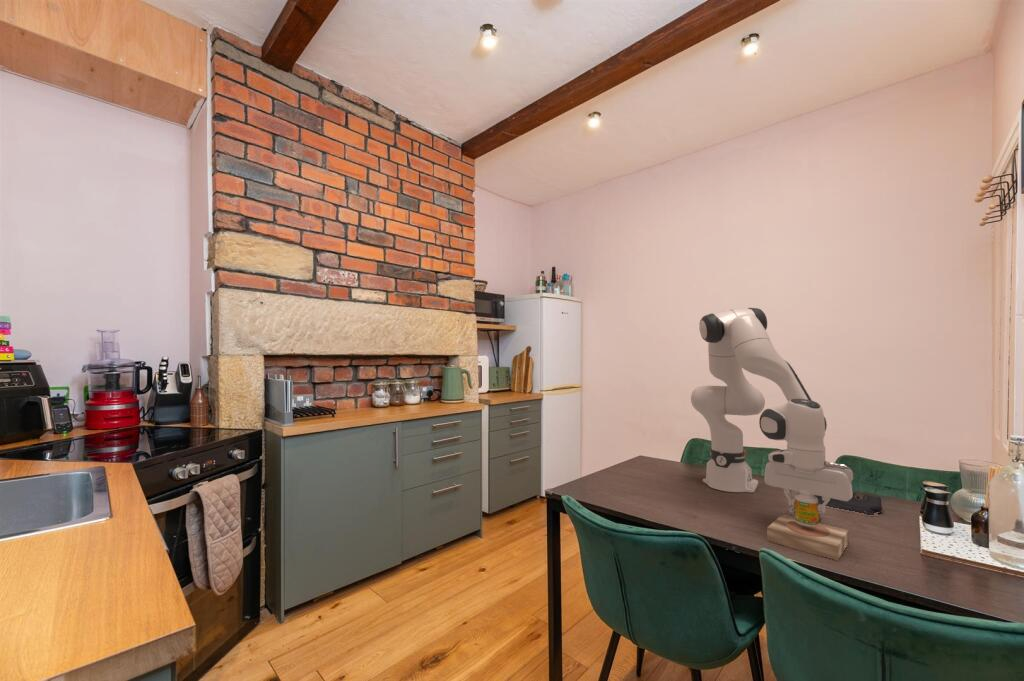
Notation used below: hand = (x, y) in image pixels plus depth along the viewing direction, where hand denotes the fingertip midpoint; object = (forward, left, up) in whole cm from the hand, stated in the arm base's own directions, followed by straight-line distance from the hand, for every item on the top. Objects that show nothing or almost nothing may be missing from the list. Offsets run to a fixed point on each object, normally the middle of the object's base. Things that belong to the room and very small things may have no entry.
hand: (806, 508), depth 121 cm
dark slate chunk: (-43, 0, -10) cm, 44 cm away
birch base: (0, 0, -9) cm, 9 cm away
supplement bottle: (0, 0, -4) cm, 4 cm away
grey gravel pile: (-19, -5, -10) cm, 22 cm away
